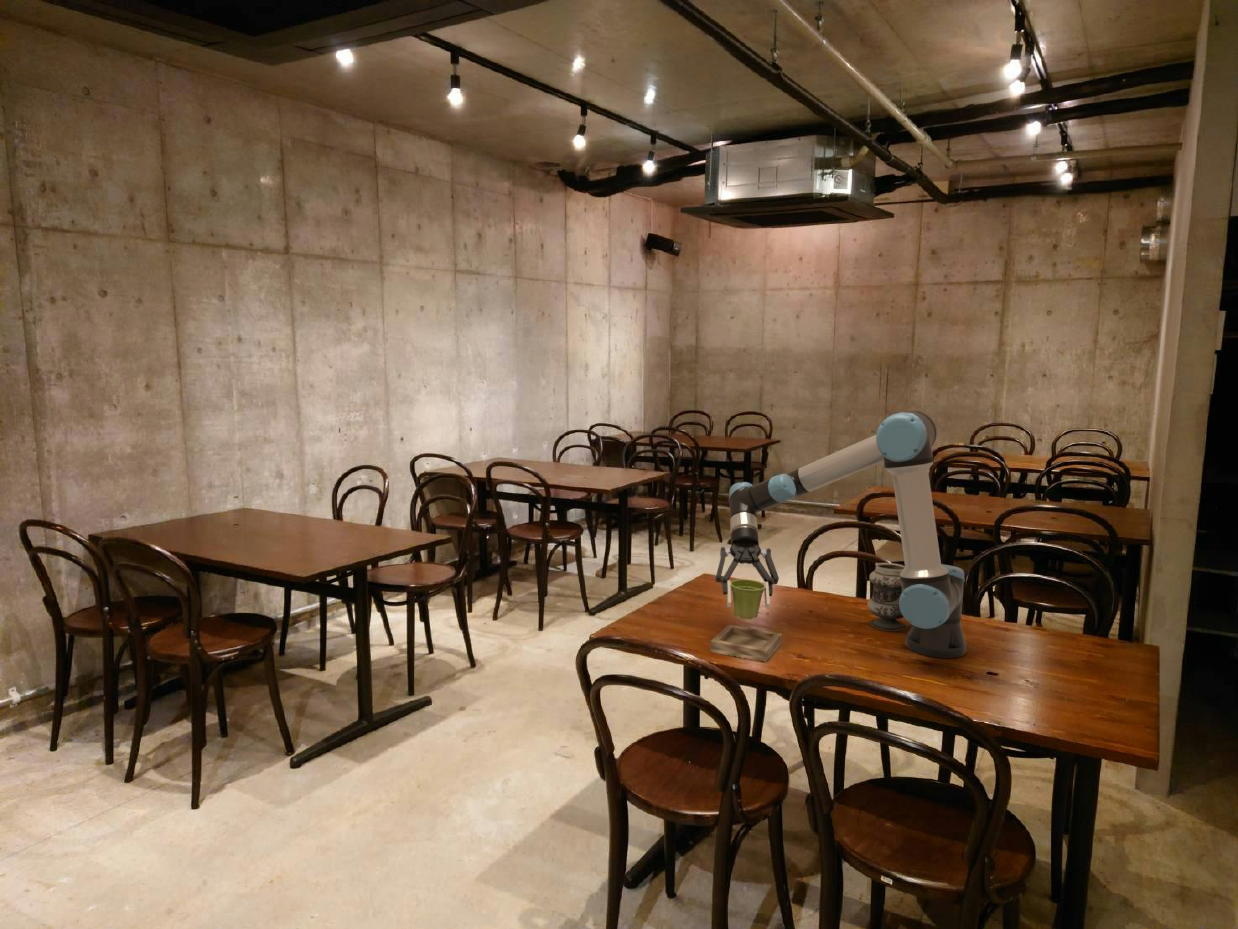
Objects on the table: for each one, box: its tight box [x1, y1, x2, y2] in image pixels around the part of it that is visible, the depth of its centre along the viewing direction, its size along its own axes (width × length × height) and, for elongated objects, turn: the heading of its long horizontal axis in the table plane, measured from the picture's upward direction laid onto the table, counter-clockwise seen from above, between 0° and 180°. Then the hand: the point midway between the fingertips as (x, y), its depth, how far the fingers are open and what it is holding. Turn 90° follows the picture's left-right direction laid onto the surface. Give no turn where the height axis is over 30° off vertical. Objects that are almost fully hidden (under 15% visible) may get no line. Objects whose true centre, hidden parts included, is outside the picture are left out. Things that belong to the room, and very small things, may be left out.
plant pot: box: [730, 578, 766, 620], centre depth 207 cm, size 9×9×9 cm
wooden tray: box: [709, 624, 783, 663], centre depth 208 cm, size 15×15×3 cm
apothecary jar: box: [866, 562, 907, 632], centre depth 227 cm, size 12×12×18 cm
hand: (748, 605), depth 204 cm, fingers closed on plant pot, 9 cm apart
